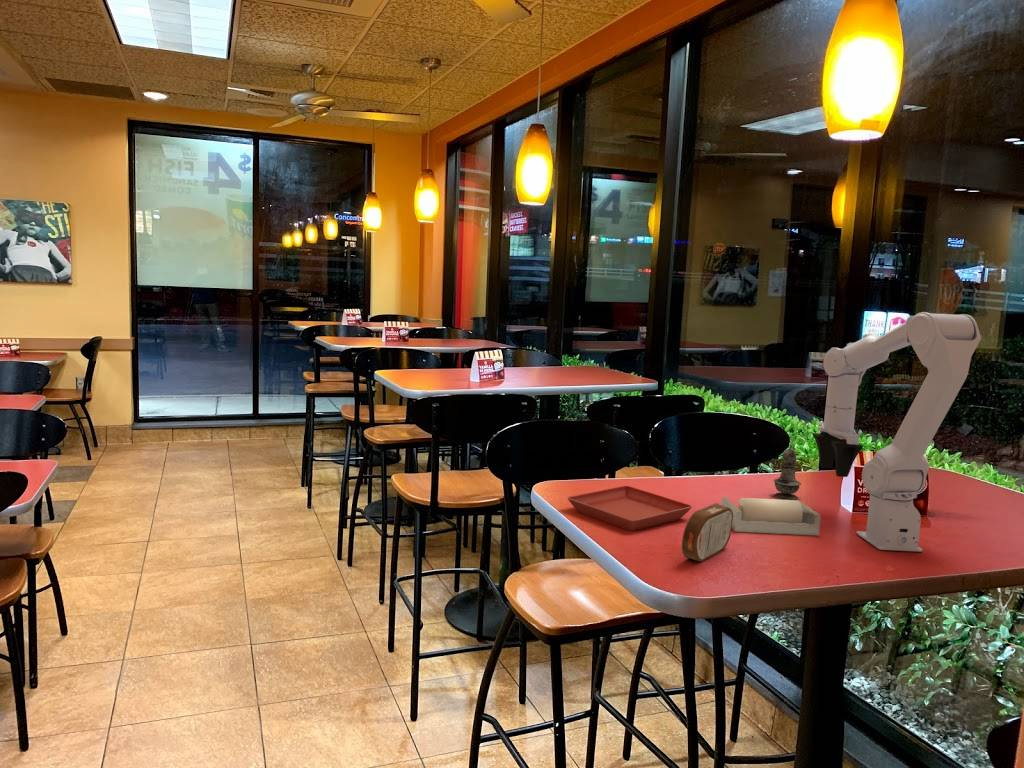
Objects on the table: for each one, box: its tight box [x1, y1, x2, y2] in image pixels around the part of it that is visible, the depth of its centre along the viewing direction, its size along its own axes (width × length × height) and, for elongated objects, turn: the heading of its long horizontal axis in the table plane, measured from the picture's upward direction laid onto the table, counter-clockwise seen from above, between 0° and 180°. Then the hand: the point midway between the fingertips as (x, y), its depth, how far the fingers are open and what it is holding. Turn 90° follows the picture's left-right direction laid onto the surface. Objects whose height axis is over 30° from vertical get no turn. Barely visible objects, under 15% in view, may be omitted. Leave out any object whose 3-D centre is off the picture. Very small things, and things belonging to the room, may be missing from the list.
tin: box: [681, 503, 733, 563], centre depth 131 cm, size 15×3×8 cm, turn 141°
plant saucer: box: [567, 485, 693, 531], centre depth 153 cm, size 18×18×3 cm
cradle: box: [720, 496, 821, 537], centre depth 150 cm, size 10×16×4 cm, turn 91°
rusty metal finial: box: [773, 445, 802, 501], centre depth 173 cm, size 6×6×12 cm
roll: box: [737, 497, 803, 523], centre depth 150 cm, size 5×12×5 cm, turn 90°
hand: (833, 471), depth 159 cm, fingers open, 7 cm apart
